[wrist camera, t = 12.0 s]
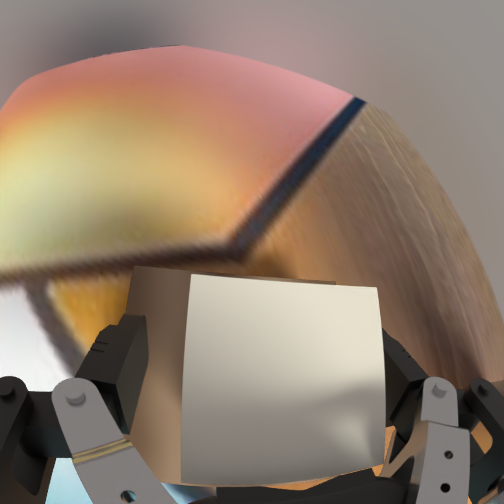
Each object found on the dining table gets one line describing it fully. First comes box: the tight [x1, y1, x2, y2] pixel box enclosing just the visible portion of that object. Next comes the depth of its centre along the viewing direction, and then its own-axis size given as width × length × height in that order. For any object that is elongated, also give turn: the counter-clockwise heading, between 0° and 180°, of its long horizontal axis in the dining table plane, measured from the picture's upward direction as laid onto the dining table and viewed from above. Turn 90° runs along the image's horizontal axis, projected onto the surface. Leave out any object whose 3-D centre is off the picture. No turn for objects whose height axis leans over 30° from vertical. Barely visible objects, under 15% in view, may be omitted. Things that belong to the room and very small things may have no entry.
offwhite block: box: [181, 274, 386, 485], centre depth 11 cm, size 5×5×11 cm
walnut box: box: [123, 265, 341, 487], centre depth 18 cm, size 14×14×6 cm
